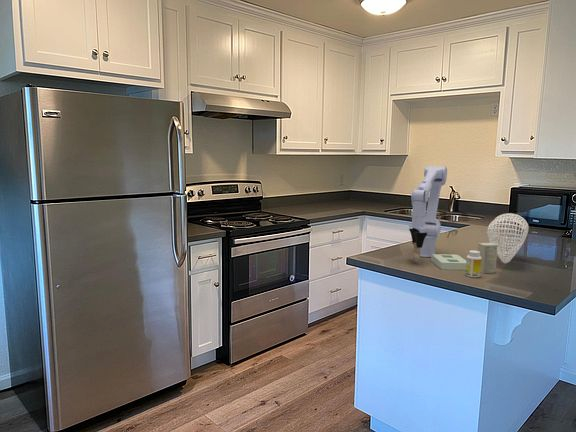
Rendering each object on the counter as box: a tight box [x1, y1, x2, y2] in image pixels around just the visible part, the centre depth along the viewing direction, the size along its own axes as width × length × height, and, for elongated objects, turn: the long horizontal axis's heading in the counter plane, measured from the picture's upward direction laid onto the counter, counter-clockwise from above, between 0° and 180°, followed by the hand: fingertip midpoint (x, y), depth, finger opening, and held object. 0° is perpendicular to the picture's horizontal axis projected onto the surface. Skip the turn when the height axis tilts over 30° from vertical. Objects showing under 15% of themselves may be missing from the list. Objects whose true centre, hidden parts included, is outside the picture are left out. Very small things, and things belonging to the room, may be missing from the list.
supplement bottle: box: [465, 249, 482, 278], centre depth 174 cm, size 6×6×10 cm
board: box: [430, 253, 467, 271], centre depth 192 cm, size 16×12×3 cm
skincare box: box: [477, 242, 498, 274], centre depth 181 cm, size 6×4×12 cm
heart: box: [486, 212, 530, 264], centre depth 195 cm, size 28×16×22 cm, turn 148°
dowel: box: [412, 243, 421, 264], centre depth 195 cm, size 3×3×9 cm
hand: (417, 245), depth 194 cm, fingers open, 7 cm apart
